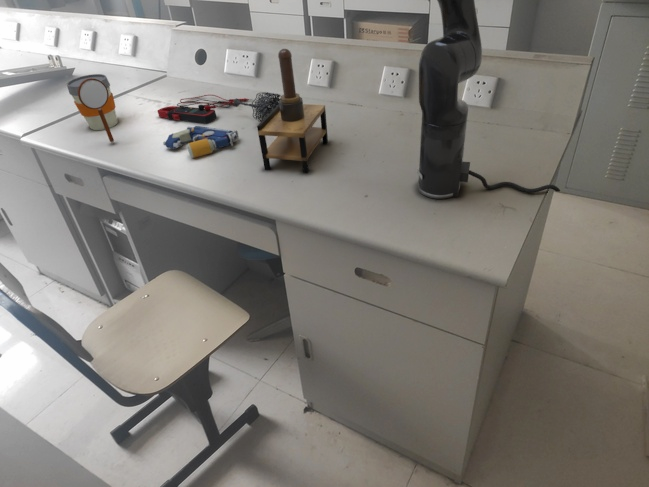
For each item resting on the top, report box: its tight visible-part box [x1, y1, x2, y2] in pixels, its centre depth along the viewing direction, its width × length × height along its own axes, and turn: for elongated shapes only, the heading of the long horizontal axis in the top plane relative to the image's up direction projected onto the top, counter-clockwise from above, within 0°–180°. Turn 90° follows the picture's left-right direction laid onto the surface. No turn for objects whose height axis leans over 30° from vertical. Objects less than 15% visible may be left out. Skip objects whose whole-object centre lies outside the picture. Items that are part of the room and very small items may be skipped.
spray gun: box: [162, 125, 240, 159], centre depth 133 cm, size 21×4×15 cm
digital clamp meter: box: [157, 94, 253, 125], centre depth 157 cm, size 23×4×25 cm
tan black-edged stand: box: [256, 103, 329, 174], centre depth 121 cm, size 12×18×12 cm, turn 162°
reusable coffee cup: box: [66, 73, 118, 131], centre depth 150 cm, size 13×13×15 cm
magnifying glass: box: [78, 78, 115, 145], centre depth 135 cm, size 9×2×20 cm, turn 139°
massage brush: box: [233, 91, 282, 123], centre depth 143 cm, size 9×22×9 cm, turn 56°
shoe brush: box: [277, 48, 304, 122], centre depth 113 cm, size 6×6×17 cm
